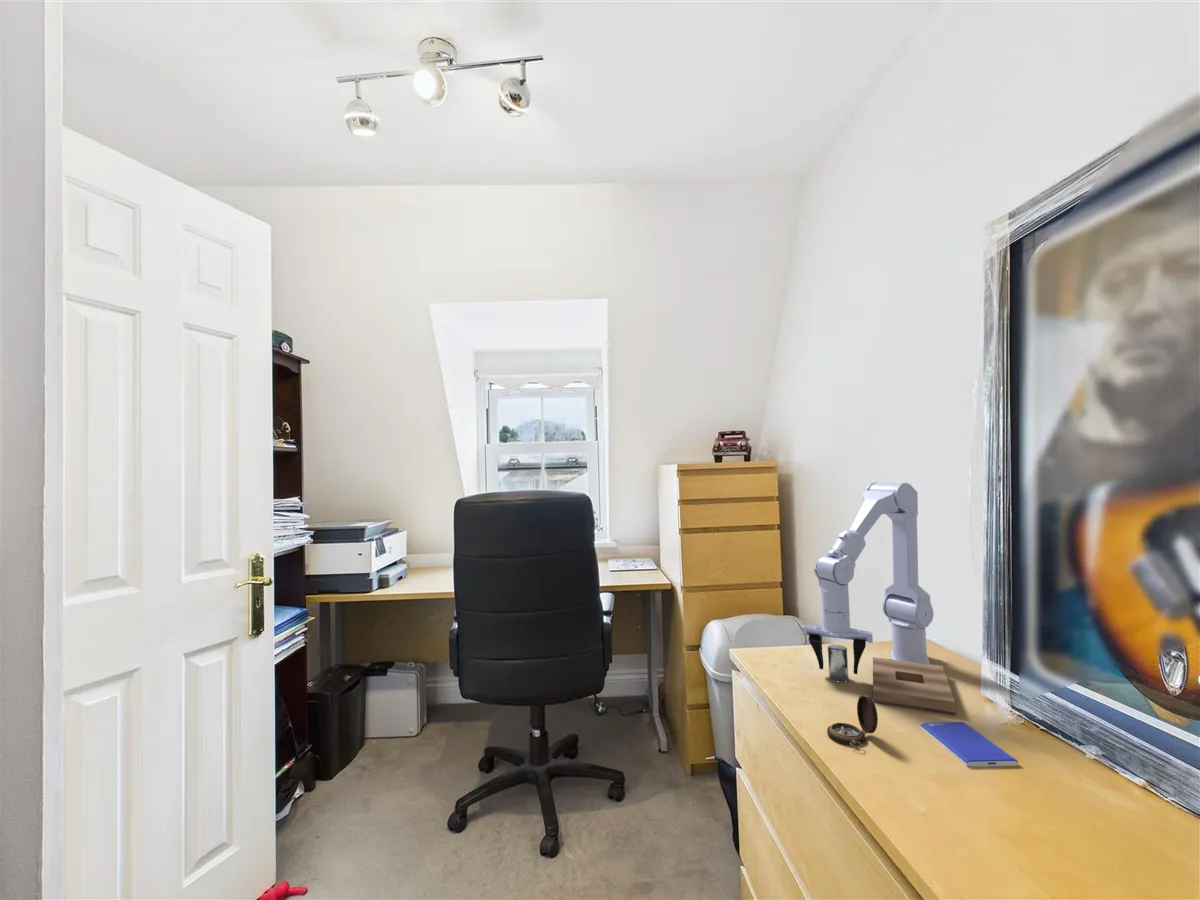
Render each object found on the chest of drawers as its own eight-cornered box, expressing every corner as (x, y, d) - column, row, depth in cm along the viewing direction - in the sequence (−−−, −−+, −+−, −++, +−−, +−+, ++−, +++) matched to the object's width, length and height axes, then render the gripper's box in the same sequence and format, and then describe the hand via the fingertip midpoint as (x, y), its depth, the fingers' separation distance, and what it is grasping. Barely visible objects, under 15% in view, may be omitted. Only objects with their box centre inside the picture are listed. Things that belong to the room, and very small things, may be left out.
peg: (829, 674, 121) (828, 643, 122) (848, 676, 119) (847, 645, 120) (828, 680, 118) (827, 649, 118) (848, 683, 116) (846, 651, 116)
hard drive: (919, 722, 96) (966, 760, 83) (964, 721, 96) (1017, 759, 83) (920, 731, 96) (967, 770, 83) (965, 730, 96) (1018, 769, 83)
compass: (821, 729, 97) (819, 689, 97) (864, 728, 96) (863, 688, 97) (839, 752, 89) (837, 709, 89) (887, 752, 88) (884, 708, 89)
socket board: (873, 667, 124) (872, 657, 124) (943, 676, 118) (942, 665, 118) (873, 702, 107) (873, 689, 107) (955, 715, 100) (955, 701, 100)
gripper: (799, 611, 119) (802, 671, 118) (871, 617, 112) (874, 681, 112) (803, 603, 125) (805, 660, 125) (871, 609, 119) (874, 670, 118)
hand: (838, 670), depth 119 cm, fingers open, 6 cm apart
